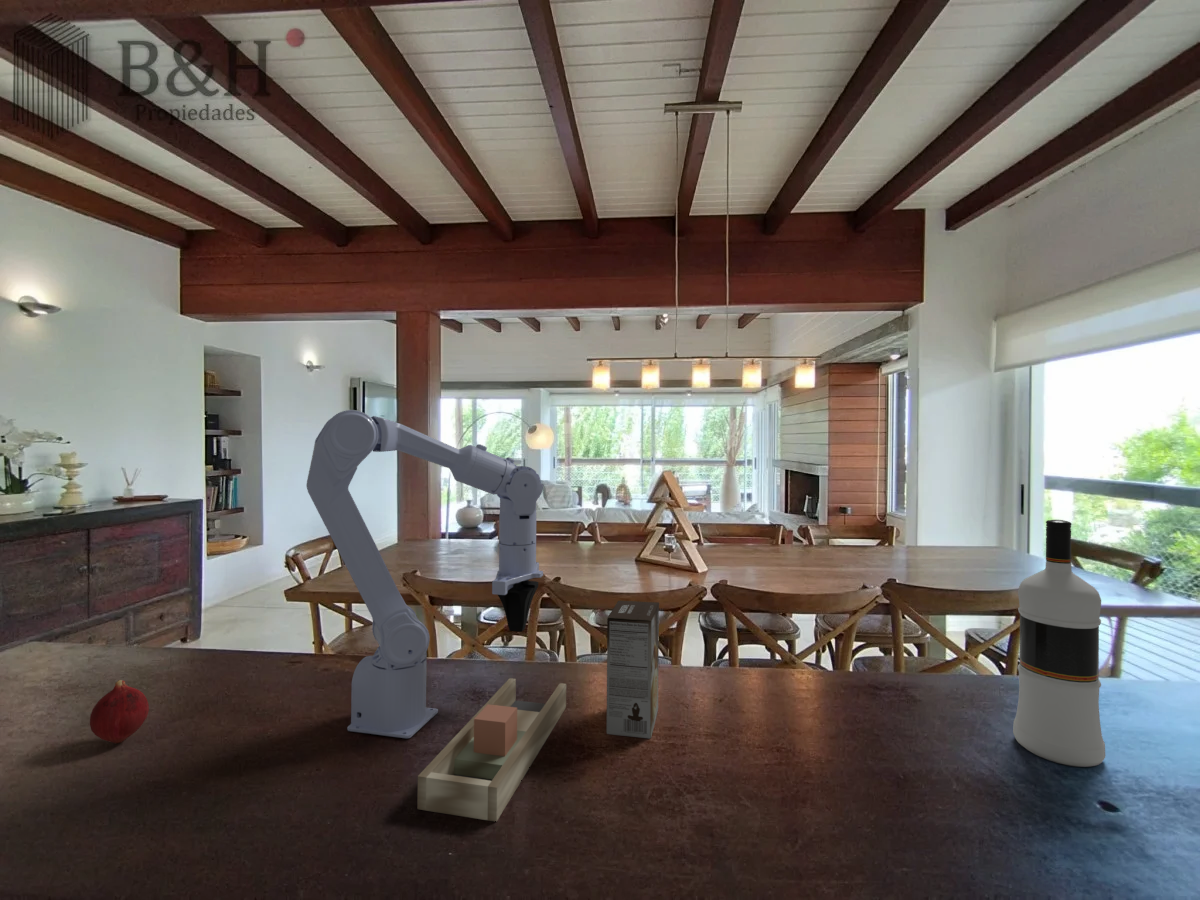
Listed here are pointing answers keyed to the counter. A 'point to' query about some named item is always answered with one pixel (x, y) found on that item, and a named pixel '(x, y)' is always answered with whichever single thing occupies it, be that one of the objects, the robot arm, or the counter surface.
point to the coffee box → (632, 668)
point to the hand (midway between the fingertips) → (517, 630)
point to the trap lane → (488, 761)
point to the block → (495, 730)
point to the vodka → (1059, 660)
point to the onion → (119, 713)
